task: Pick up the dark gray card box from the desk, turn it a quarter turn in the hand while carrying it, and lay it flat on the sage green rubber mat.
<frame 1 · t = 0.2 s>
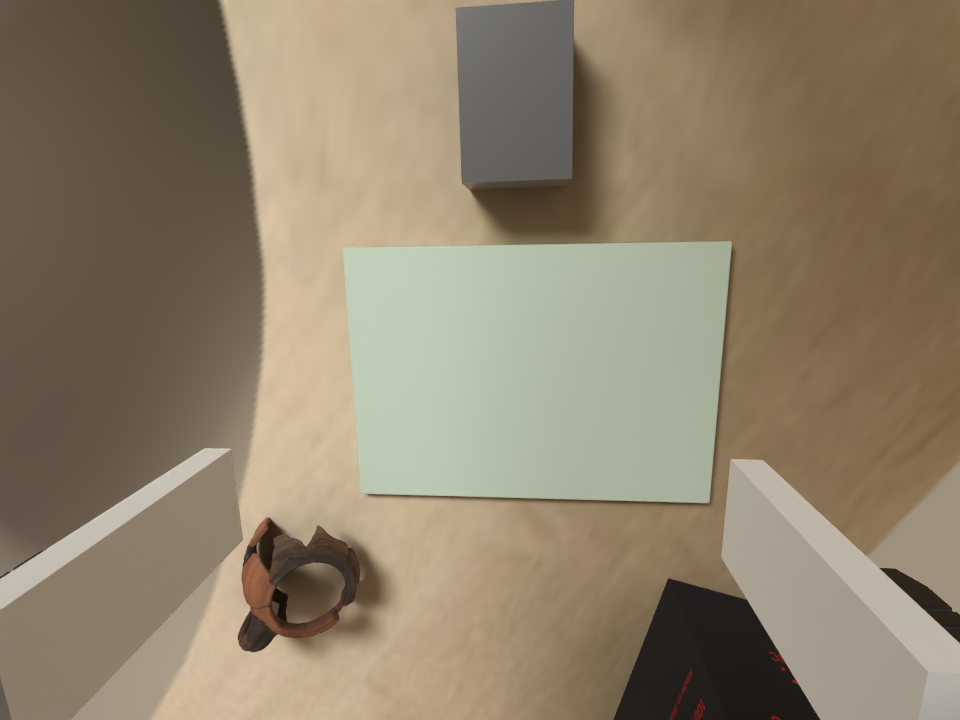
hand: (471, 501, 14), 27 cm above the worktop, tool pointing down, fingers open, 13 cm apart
brown jagged ring: (304, 560, 47), on the worktop
rubber mat: (530, 375, 41), on the worktop
dark gray card box: (517, 114, 37), on the worktop
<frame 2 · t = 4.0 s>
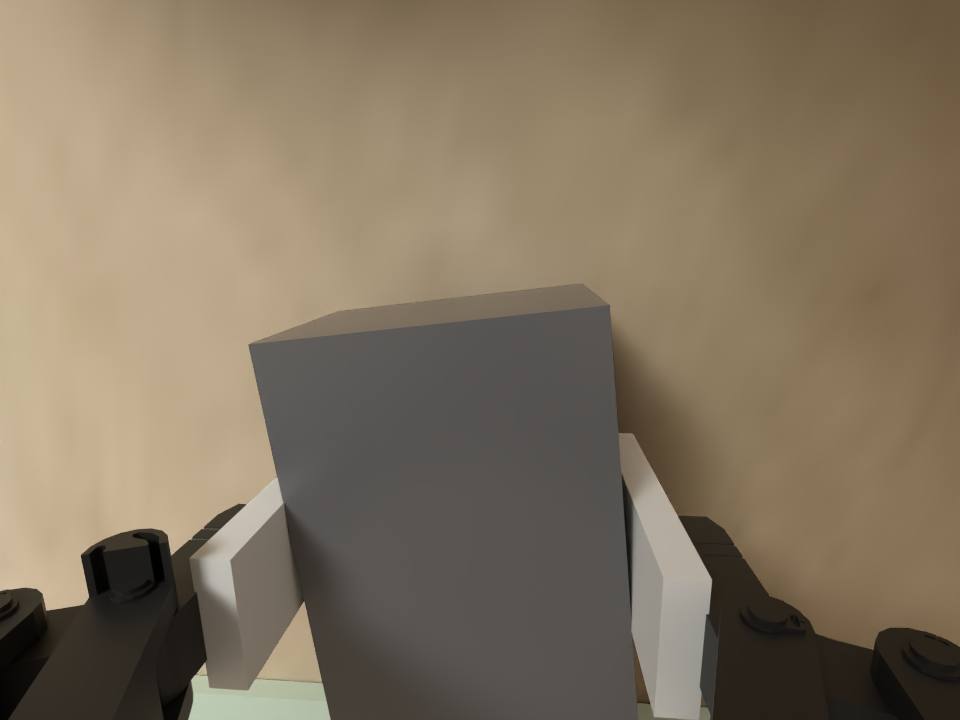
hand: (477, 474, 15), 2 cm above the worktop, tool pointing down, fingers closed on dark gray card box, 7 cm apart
dark gray card box: (478, 462, 16), point 1 cm above the worktop, touching gripper
when the fingers open (2 cm above the worktop, at t = 9.5 s): dark gray card box stays where it is, resting on rubber mat.
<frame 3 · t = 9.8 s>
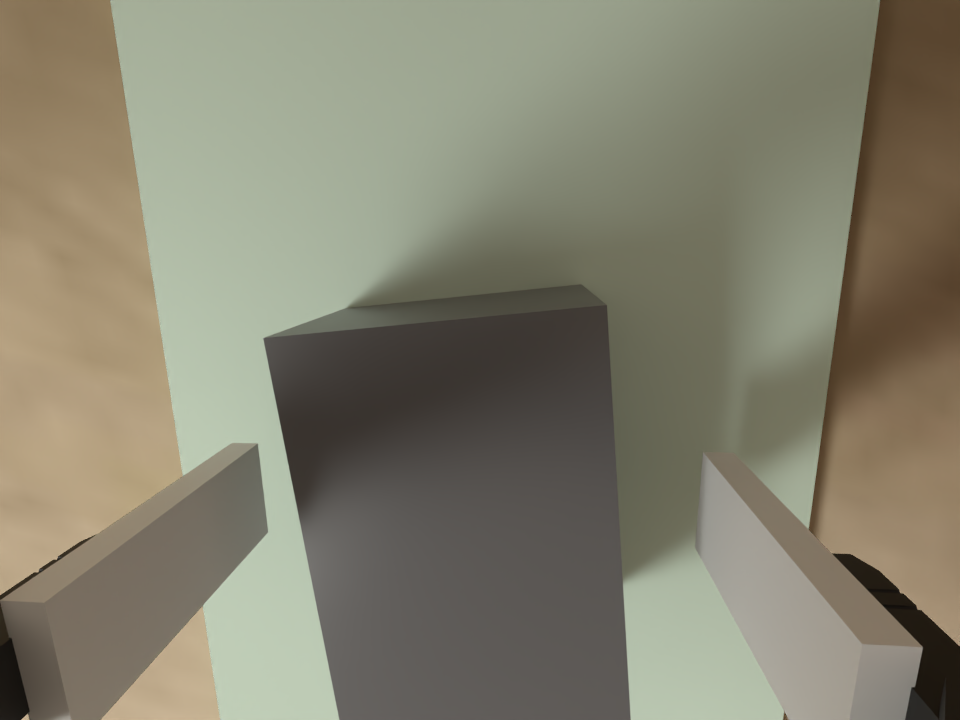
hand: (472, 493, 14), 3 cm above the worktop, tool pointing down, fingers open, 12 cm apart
rubber mat: (482, 449, 17), on the worktop
dark gray card box: (478, 455, 16), point 1 cm above the worktop, touching rubber mat
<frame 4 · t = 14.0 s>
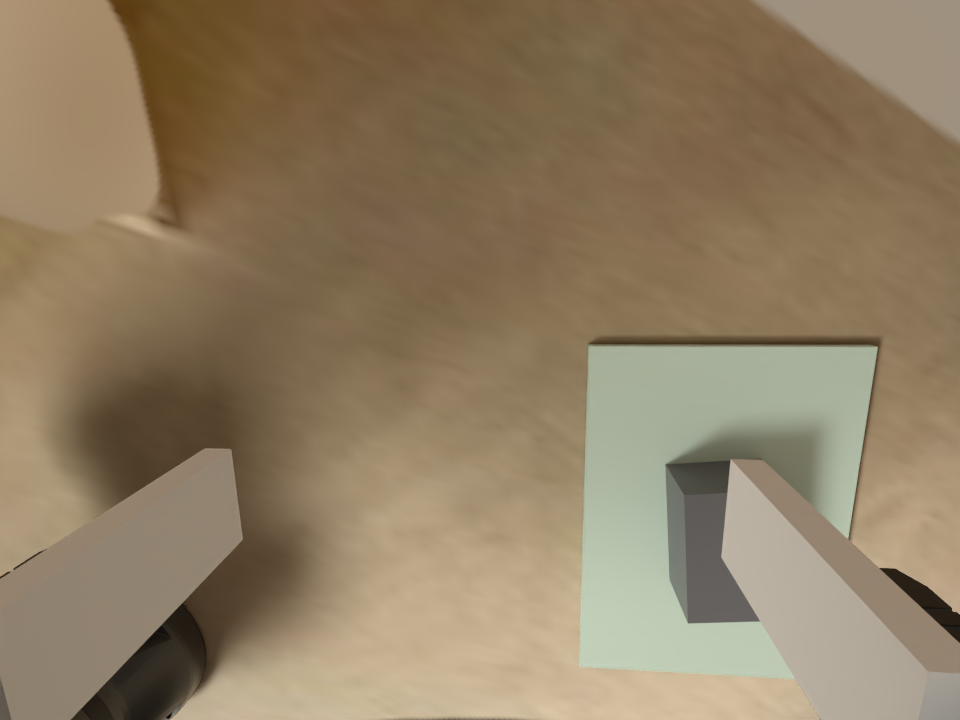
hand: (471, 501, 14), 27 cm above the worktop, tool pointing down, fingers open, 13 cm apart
rubber mat: (710, 517, 41), on the worktop
dark gray card box: (713, 521, 41), point 1 cm above the worktop, touching rubber mat
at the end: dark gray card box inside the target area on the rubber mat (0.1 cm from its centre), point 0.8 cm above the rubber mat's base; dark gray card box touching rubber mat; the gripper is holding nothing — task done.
